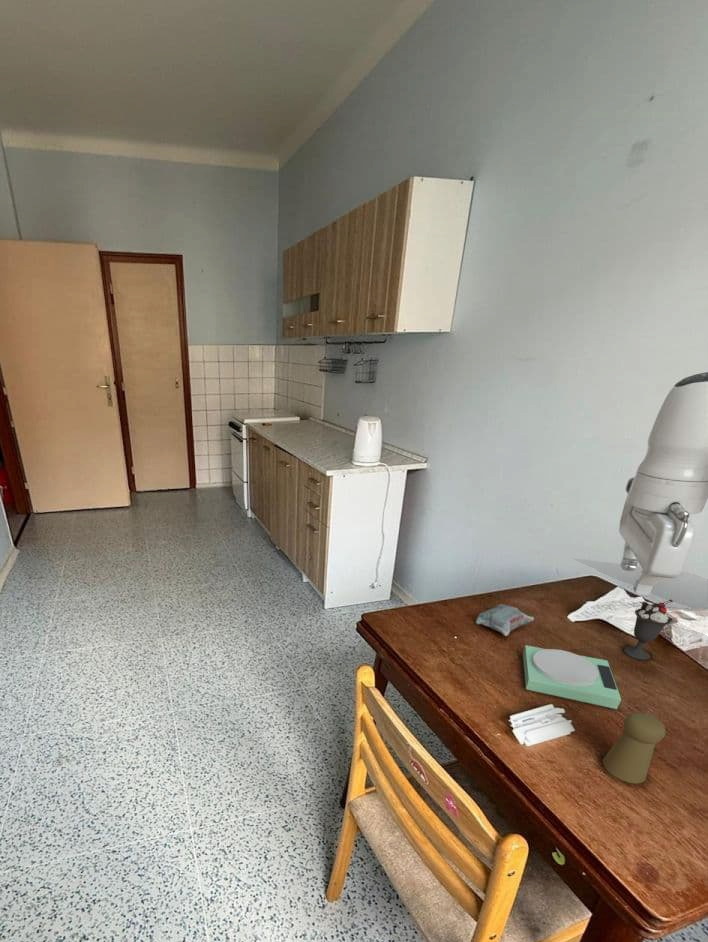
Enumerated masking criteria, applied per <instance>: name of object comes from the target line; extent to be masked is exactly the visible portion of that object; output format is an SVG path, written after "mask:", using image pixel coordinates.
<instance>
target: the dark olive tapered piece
mask: <svg viewBox="0 0 708 942" xmlns="http://www.w3.org/2000/svg"><path fill="white" fill-rule="evenodd" d="M623 729H624V730H623V731H622V733H621V734H620V735H619V736H618V738H617V739H616V741H615V742H614V744H613V745H612V746H611V747H610V749H609V750H608V751H607V753H606V754H605V756H604V757H603V759H602V764H603V768H604V769H605V770H606V771H607V772H608V773H609V774H610V775H612V776H613V777H615V778H616V779H618V780H620V781H623V782H625V783H629V784H641V783H644V782H645V781H646V779H647V776H648V772H649V769H650V765H651V761H652V758H653V754H654V750H655V746H656V744H657V743H660V742H661V741H662V740H663V739H664V737H665V736H666V727H665V725H664V723H663V722H662V721H661V720H660V719H659V718H657V717H655V716H653V715H651V714H649V713H645V712H641V711H634V712H631V713H630V714H627V716H625V718H624V720H623Z"/></svg>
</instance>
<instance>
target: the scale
mask: <svg viewBox="0 0 708 942" xmlns="http://www.w3.org/2000/svg"><path fill="white" fill-rule="evenodd" d="M522 662H523V663H522V664H523V671H524V673H523V674H524V685H525V690H527V691H531V692H536V693H540V694H546V695H550V696H555V697H559V698H564V699H567V700H568V699H569V700H573V701H578V702H581V703H587V704H591V705H596V706H600V707H604V708H609V709H615V710H618V708H619V706H620V704H621V702H622V698H621V695H620V692H619V689H618V685H617V684H616V683H617V682H616V680H615V677H614V674H613V672H612V669H611V667H610V664H609V661H608V660H606V659H601V658H596V657H590V656H585V655H581V654H580V655H579V654H576V653H574V652H572V651H571V652H570V651H568V650H563V649H556V648H555V649H554V648H549V649H548V648H542V647H539V646H533V645H532V646H531V645H527V644H525V645H524V649H523V652H522Z"/></svg>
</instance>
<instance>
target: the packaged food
mask: <svg viewBox="0 0 708 942" xmlns="http://www.w3.org/2000/svg"><path fill="white" fill-rule="evenodd" d="M519 609H520V608H519V607H514V606H511V605H507V604H503V603H499V604H498V605H496V606H494V607H492V608H490V609H487V610H485V611H482V612H480V613H479V614H478V615H477V617H476V621H475V623H476V625H483V626H485V627H487V628H489V629H491V630H493V631H495V632H498V633H501V635H503V636H505V637H508V636H509V635H510V633H511V632H512V631H513V630H515V629H518V628H519V627H521V626H524V625H527V624H529V623H530V622H533V621H534V620H535V617H534V616H530V615H527V614H526V613H524V612H523V611H521V610H519Z"/></svg>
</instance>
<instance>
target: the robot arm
mask: <svg viewBox="0 0 708 942" xmlns="http://www.w3.org/2000/svg"><path fill="white" fill-rule="evenodd" d="M625 492H626V493H627V495H626V498H625V501H624V505H623V508H622V512H621V515H620V519H619V525H618V526H619V528H618V531H619V534H620V536H621V537H622V539H623V540H624V545H623V554H622V560H621V562H620V567H621V569H622V570H623V571H628V572H634V571H635V570H636V567H637V566H638V564H639V565H640V567H641V575H640V576H639V579H636V580H635V582H634V585H633V588H632V589H633V591H634V593H635V594H636V595H638V596H646V597H647V596H649V595H650V594H651V592H652V590H653V587H654V586H655V585H656V584H657V583H658V582H659V581H660V580H661V579H662V578H664V579H676V578H677V577H678V576H679V575H680V574H681V572H682V571H683V569H684V566H685V563H686V561H687V558H688V556H689V554H690V553H689V552H690V550H691V547H692V544H693V541H694V537H695V533H696V531H695V530H696V529H695V526H694V523H692V522H691V521H690V520H689V518H690V515H697V514H700V513H701V512H703V510H704V507H705V505H706V503H707V501H708V371H707V372H701V373H696V374H692V375H690V376H687V377H685V378H682V379H681V380H679V381H678V382H676V383H675V384H674V385H673V386H672V388H671V389H670V390H669V391H668V394H666V397H665V399H664V400H663V402H662V405H661V406H660V409H659V411H658V413H657V415H656V418H655V420H654V422H653V425H652V427H651V430H650V433H649V436H648V439H647V450H646V454H645V456H644V458H643V460H642V461H641V463H640V464H639V465H638V467H637V469H636V472H635V476H633V477H630V478H629V479H628V480H627V483H626V486H625Z"/></svg>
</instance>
